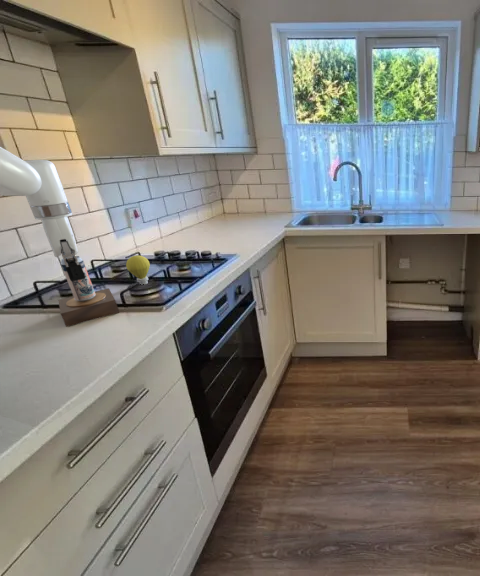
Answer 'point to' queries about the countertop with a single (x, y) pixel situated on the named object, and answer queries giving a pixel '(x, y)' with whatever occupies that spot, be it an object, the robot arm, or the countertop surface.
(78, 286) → the beer can
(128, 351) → the countertop surface
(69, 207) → the robot arm
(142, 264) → the light bulb
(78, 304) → the block
